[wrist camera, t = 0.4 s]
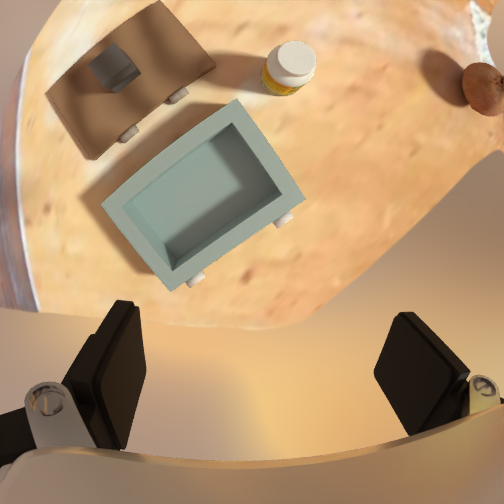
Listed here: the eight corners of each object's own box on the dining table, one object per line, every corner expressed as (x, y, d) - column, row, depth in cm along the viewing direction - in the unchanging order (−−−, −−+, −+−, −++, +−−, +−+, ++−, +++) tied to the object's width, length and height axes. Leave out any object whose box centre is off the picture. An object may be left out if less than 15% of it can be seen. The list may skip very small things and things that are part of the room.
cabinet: (235, 105, 33) (236, 98, 29) (300, 200, 38) (311, 207, 33) (115, 197, 36) (100, 204, 31) (181, 282, 40) (176, 298, 36)
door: (161, 4, 27) (151, -18, 21) (221, 73, 32) (219, 58, 26) (53, 92, 29) (28, 86, 23) (101, 166, 34) (79, 169, 28)
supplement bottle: (276, 53, 31) (291, 25, 22) (308, 77, 32) (333, 56, 23) (251, 81, 32) (259, 58, 23) (284, 105, 34) (303, 90, 25)
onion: (454, 56, 31) (492, 47, 22) (485, 87, 33) (522, 85, 23) (445, 96, 34) (486, 91, 24) (477, 126, 36) (517, 128, 26)
